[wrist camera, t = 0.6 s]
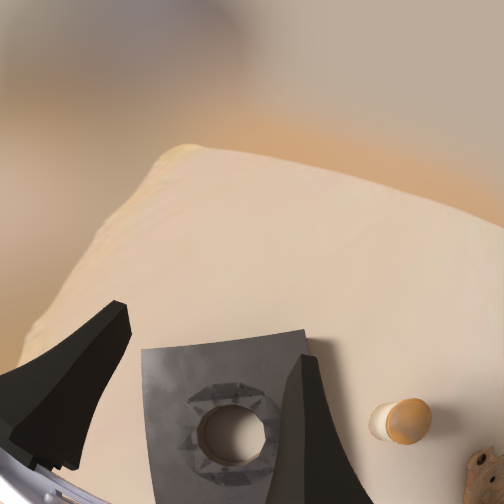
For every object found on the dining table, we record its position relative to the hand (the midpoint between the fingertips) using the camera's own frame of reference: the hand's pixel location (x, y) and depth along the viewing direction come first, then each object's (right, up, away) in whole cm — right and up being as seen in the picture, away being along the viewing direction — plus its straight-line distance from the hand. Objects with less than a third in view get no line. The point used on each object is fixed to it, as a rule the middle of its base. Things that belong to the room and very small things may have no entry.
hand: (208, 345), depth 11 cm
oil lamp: (+28, -24, +5) cm, 37 cm away
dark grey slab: (0, -14, +13) cm, 19 cm away
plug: (+15, -13, +12) cm, 24 cm away
